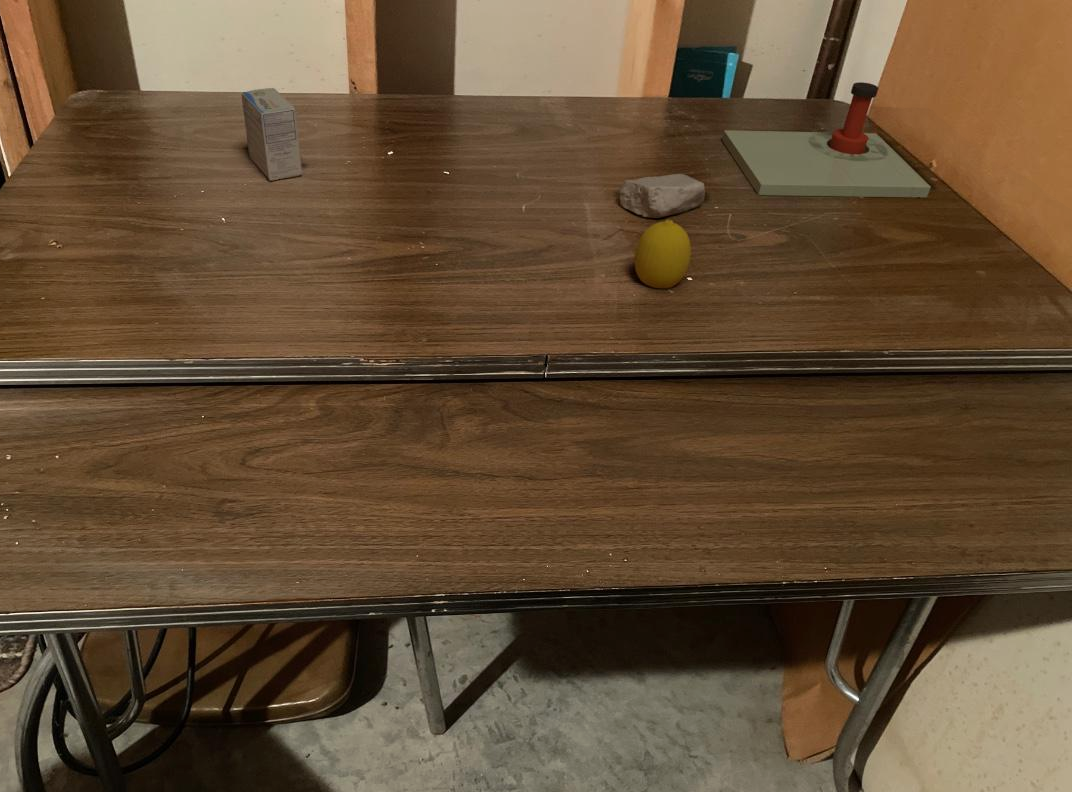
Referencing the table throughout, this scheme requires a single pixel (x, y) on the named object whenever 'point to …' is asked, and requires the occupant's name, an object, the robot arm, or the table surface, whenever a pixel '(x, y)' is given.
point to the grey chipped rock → (662, 195)
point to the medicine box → (272, 133)
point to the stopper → (854, 121)
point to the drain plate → (821, 166)
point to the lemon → (662, 255)
